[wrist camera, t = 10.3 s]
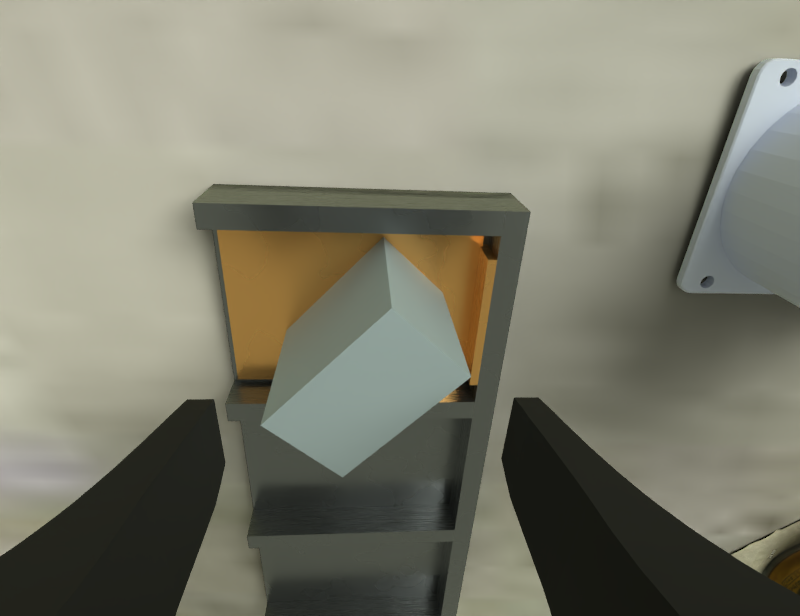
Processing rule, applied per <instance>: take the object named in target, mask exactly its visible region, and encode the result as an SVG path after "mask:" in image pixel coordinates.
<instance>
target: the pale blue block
mask: <svg viewBox="0 0 800 616" xmlns="http://www.w3.org/2000/svg"><path fill="white" fill-rule="evenodd" d="M469 378H471V375H470V372H469V369H468V366H467V363H466V360H465V357H464V354H463V351H462V348H461V345H460V342H459V339H458V336H457V333H456V330H455V327H454V324H453V321H452V318H451V316H450V313H449V310H448V307H447V304H446V301H445V298H444V295H443V292H442V291H440V290H439V289H438V288H437V287H436V286H435V285H434V284H433V283H432V282H431V281H430V280H429V279H428V278H427V277H426V276H425V275H424V274H422V273H421V272H420V271H419V270H418V269H417V268H416V267H415V266H414V265H413V264H412V263H411V262H410V261H409V260H408V259H407V258H405V257H404V256H403V255H402V254H401V253H400V252H399V251H398V250H397V249H396V248H395V247H394V246H393V245H392V244H391V243H390V242H388V241H387V240H386V239H385V238H384V237H383V238H382V239H381V240H380V241H379V242H378V243H377V244H376V245H375V246H374V247H373V248H371V249H370V250H369V251H368V252H367V253H366V254H365V255H364V256H363V257H362V258H361V259H360V260H359V261H358V262H357V263H356V264H355V265H354V266H353V267H352V268H351V269H350V270H349V271H348V272H347V273H345V274H344V275H343V276H342V277H341V278H340V279H339V280H338V281H337V282H336V283H335V284H334V285H333V286H332V287H331V288H330V289H329V290H328V291H327V292H326V293H325V294H324V295H323V296H322V297H321V298H319V299H318V300H317V301H316V302H315V303H314V304H313V305H312V306H311V307H310V308H309V309H308V310H307V311H306V312H305V313H304V314H303V315H302V316H301V317H300V318H299V319H298V320H297V321H296V322H295V323H293V324H292V325H291V326H290V327H289V328H288V329H287V331H286V334H285V338H284V342H283V345H282V349H281V352H280V356H279V360H278V363H277V367H276V371H275V374H274V378H273V382H272V385H271V389H270V392H269V396H268V400H267V403H266V407H265V411H264V414H263V418H262V422H261V426H262V427H264V428H265V429H267V430H268V431H270V432H272V433H273V434H275V435H276V436H278V437H279V438H281V439H283V440H284V441H286V442H287V443H289V444H291V445H292V446H294V447H295V448H297V449H298V450H300V451H302V452H303V453H305V454H306V455H308V456H310V457H311V458H313V459H314V460H316V461H317V462H319V463H321V464H322V465H324V466H325V467H327V468H329V469H330V470H332V471H333V472H335V473H336V474H338V475H340V476H341V477H344V476H345V475H346V474H348V473H349V472H350V471H351V470H353V469H354V468H355V467H357V466H358V465H359V464H360V463H362V462H363V461H364V460H366V459H367V458H368V457H369V456H371V455H372V454H373V453H374V452H376V451H377V450H378V449H380V448H381V447H382V446H383V445H385V444H386V443H387V442H389V441H390V440H391V439H392V438H394V437H395V436H396V435H398V434H399V433H400V432H401V431H403V430H404V429H405V428H406V427H408V426H409V425H410V424H412V423H413V422H414V421H415V420H417V419H418V418H419V417H421V416H422V415H423V414H424V413H426V412H427V411H428V410H430V409H431V408H432V407H433V406H435V405H436V404H437V403H438V402H440V401H441V400H442V399H444V398H445V397H446V396H447V395H449V394H450V393H451V392H453V391H454V390H455V389H456V388H458V387H459V386H460V385H462V384H463V383H464V382H465V381H467V380H468V379H469Z"/></svg>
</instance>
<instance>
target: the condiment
mask: <svg viewBox="0 0 800 616" xmlns="http://www.w3.org/2000/svg"><path fill="white" fill-rule="evenodd" d="M773 550H776V551H775V553H774V554H771V553H772V551H773ZM731 555H732V556H733V557H735V558H737V559H738V560H740V561H741V562H743V563H744V564H746V565H748V566H749V567H751V568H753V569H754V570H756V571H758V572H759V573H761V574H763V575H764V576H766V577H768V578H770V579H771V580H773V581H775V582H777V583H778V584H780V585H782V586H784V587H785V588H787V589H789V590H791V591H792V592H794V593H796V594H798V595H800V521H798V522H796V523H794V524H792V525H790V526H788V527H786V528H784V529H781V530H779V529H778V530H776V531H775V532H774V533H773V534H771V535H770V536H768V537H766V538H764V539H762V540H760V541H757V542H754V543H752V544H749V545H748V546H747V547H746V548H744V549H742V550H740V551H738V552H736V553H733V554H731ZM770 555H773V557H772V558H769V557H770Z"/></svg>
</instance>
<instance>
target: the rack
mask: <svg viewBox="0 0 800 616" xmlns="http://www.w3.org/2000/svg"><path fill="white" fill-rule="evenodd" d="M193 209H194V215H195V222H196V228H197V229H199V230H213V237H214V244H215V250H216V257H217V264H218V271H219V278H220V284H221V291H222V298H223V305H224V312H225V318H226V325H227V332H228V339H229V345H230V352H231V359H232V366H233V373H234V379H235V381H234V383H233V386H232V389H231V391H230V394H229V396H228V399H227V401H226V404H225V405H226V411H227V417H228V421H241V427H242V434H243V440H244V447H245V454H246V461H247V468H248V474H249V481H250V488H251V495H252V502H253V508H254V510H253V514H252V518H251V522H250V527H249V531H248V535H247V539H248V545H249V548H259V549H260V556H261V563H262V569H263V576H264V583H265V590H266V596H267V607H266V613H265V616H456V613H457V608H458V603H459V597H460V592H461V586H462V581H463V575H464V570H465V565H466V559H467V554H468V548H469V543H470V537H471V532H472V527H473V521H474V516H475V510H476V505H477V499H478V494H479V489H480V483H481V478H482V472H483V467H484V462H485V456H486V451H487V445H488V440H489V434H490V429H491V424H492V418H493V413H494V407H495V402H496V396H497V391H498V386H499V380H500V375H501V369H502V364H503V358H504V353H505V348H506V342H507V337H508V331H509V326H510V320H511V315H512V310H513V304H514V299H515V293H516V288H517V282H518V277H519V272H520V266H521V261H522V255H523V250H524V245H525V239H526V234H527V228H528V223H529V217H530V211H529V210H528V209H527V208H526V207H525V206H524V205H523V204H521V203H520V202H519V201H518V200H517V199H516V198H515V197H514V196H513V195H512V194H511V193H486V192H453V191H420V190H387V189H354V188H322V187H289V186H256V185H223V184H213V185H212V186H211V187H210V188H209V189H208V190H207V191H205V192H204V193H203V194H202V195H201V196H200V197H198V198H197V199H196V200H195V201H194V202H193ZM383 237H384V238H385V239H386V240H387V241H388V242H390V243H391V244H392V245H393V246H394V247H395V248H396V249H397V250H398V251H399V252H400V253H401V254H402V255H403V256H404V257H405V258H407V259H408V260H409V261H410V262H411V263H412V264H413V265H414V266H415V267H416V268H417V269H418V270H419V271H420V272H421V273H422V274H424V275H425V276H426V277H427V278H428V279H429V280H430V281H431V282H432V283H433V284H434V285H435V286H436V287H437V288H438V289H439V290H440V291H442V292H443V295H444V298H445V301H446V304H447V307H448V310H449V313H450V316H451V318H452V321H453V324H454V327H455V330H456V333H457V336H458V339H459V342H460V345H461V348H462V351H463V354H464V357H465V360H466V363H467V366H468V369H469V372H470V375H471V378H469V379H468V380H467V381H465V382H464V383H463V384H462V385H460V386H459V387H458V388H456V389H455V390H454V391H453V392H451V393H450V394H449V395H447V396H446V397H445V398H444V399H442V400H441V401H440V402H438V403H437V404H436V405H435V406H433V407H432V408H431V409H430V410H428V411H427V412H426V413H424V414H423V415H422V416H421V417H419V418H418V419H417V420H415V421H414V422H413V423H412V424H410V425H409V426H408V427H406V428H405V429H404V430H403V431H401V432H400V433H399V434H398V435H396V436H395V437H394V438H392V439H391V440H390V441H389V442H387V443H386V444H385V445H383V446H382V447H381V448H380V449H378V450H377V451H376V452H374V453H373V454H372V455H371V456H369V457H368V458H367V459H366V460H364V461H363V462H362V463H360V464H359V465H358V466H357V467H355V468H354V469H353V470H351V471H350V472H349V473H348V474H346V475H345V476H344V477H341V476H340V475H338V474H336V473H335V472H333V471H332V470H330V469H329V468H327V467H325V466H324V465H322V464H321V463H319V462H317V461H316V460H314V459H313V458H311V457H310V456H308V455H306V454H305V453H303V452H302V451H300V450H298V449H297V448H295V447H294V446H292V445H291V444H289V443H287V442H286V441H284V440H283V439H281V438H279V437H278V436H276V435H275V434H273V433H272V432H270V431H268V430H267V429H265V428H264V427H262V426H261V422H262V418H263V414H264V411H265V407H266V403H267V400H268V396H269V392H270V389H271V385H272V382H273V378H274V374H275V371H276V367H277V363H278V360H279V356H280V352H281V349H282V345H283V342H284V338H285V334H286V331H287V329H288V328H289V327H290V326H291V325H292V324H293V323H295V322H296V321H297V320H298V319H299V318H300V317H301V316H302V315H303V314H304V313H305V312H306V311H307V310H308V309H309V308H310V307H311V306H312V305H313V304H314V303H315V302H316V301H317V300H318V299H319V298H321V297H322V296H323V295H324V294H325V293H326V292H327V291H328V290H329V289H330V288H331V287H332V286H333V285H334V284H335V283H336V282H337V281H338V280H339V279H340V278H341V277H342V276H343V275H344V274H345V273H347V272H348V271H349V270H350V269H351V268H352V267H353V266H354V265H355V264H356V263H357V262H358V261H359V260H360V259H361V258H362V257H363V256H364V255H365V254H366V253H367V252H368V251H369V250H370V249H371V248H373V247H374V246H375V245H376V244H377V243H378V242H379V241H380V240H381V239H382V238H383Z"/></svg>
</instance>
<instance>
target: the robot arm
mask: <svg viewBox="0 0 800 616" xmlns="http://www.w3.org/2000/svg"><path fill="white" fill-rule="evenodd" d="M784 71H787V76H786V79H785V80H784V82H783V83H781V84H780V77H781V75H782V74H783V72H784ZM706 276H707V279H706V280H705V281H704V282H703V283H701V281H702V279H703V278H705V277H706ZM677 285H678V287H679V288H680V289H682V290H683V291H685V292H687V293H723V294H776V295H778V296H780V297H782V298H783V299H785V300H787V301H789V302H790V303H792V304H794V305H795V306H797V307H799V308H800V60H799V59H782V58H770V59H765V60H763V61H762V62H760V63H759V64H758V65H757V66H756V67H755V68H754V69H753V71H752V73H751V75H750V77H749V80H748V83H747V86H746V88H745V91H744V94H743V97H742V99H741V102H740V105H739V108H738V111H737V113H736V116H735V119H734V122H733V124H732V127H731V130H730V133H729V135H728V138H727V141H726V144H725V147H724V149H723V152H722V155H721V158H720V160H719V163H718V166H717V169H716V172H715V174H714V177H713V180H712V183H711V185H710V188H709V191H708V194H707V196H706V199H705V202H704V205H703V208H702V210H701V213H700V216H699V219H698V221H697V224H696V227H695V230H694V233H693V235H692V238H691V241H690V244H689V246H688V249H687V252H686V255H685V257H684V260H683V263H682V266H681V269H680V271H679V274H678V277H677ZM502 463H503V468H504V472H505V477H506V481H507V485H508V490H509V494H510V498H511V501H512V504H513V506H514V509H515V512H516V515H517V518H518V520H519V523H520V526H521V529H522V532H523V534H524V537H525V540H526V543H527V545H528V548H529V551H530V553H531V556H532V559H533V562H534V564H535V567H536V570H537V573H538V575H539V578H540V581H541V584H542V586H543V589H544V592H545V596H546V599H547V602H548V605H549V608H550V611H551V615H552V616H800V595H798V594H796V593H794V592H792V591H791V590H789V589H787V588H785V587H784V586H782V585H780V584H778V583H777V582H775V581H773V580H771V579H770V578H768V577H766V576H764V575H763V574H761V573H759V572H758V571H756V570H754V569H753V568H751V567H749V566H748V565H746V564H744V563H743V562H741V561H740V560H738V559H737V558H735V557H733V556H732V555H730V554H729V553H727V552H726V551H724V550H723V549H721V548H719V547H718V546H716V545H715V544H713V543H712V542H710V541H709V540H707V539H706V538H704V537H703V536H701V535H700V534H698V533H697V532H695V531H694V530H692V529H691V528H689V527H688V526H687V525H685V524H684V523H682V522H681V521H680V520H678V519H677V518H676V517H674V516H673V515H672V514H670V513H669V512H667V511H666V510H665V509H663V508H662V507H661V506H659V505H658V504H657V503H655V502H654V501H653V500H651V499H650V498H649V497H648V496H646V495H645V494H644V493H642V492H641V491H640V490H639V489H638V488H636V487H635V486H634V485H633V484H632V483H630V482H629V481H628V480H627V479H626V478H624V477H623V476H622V475H621V474H620V473H618V472H617V471H616V470H615V469H614V468H613V467H612V466H610V465H609V464H608V463H607V462H606V461H605V460H604V459H602V458H601V457H600V456H599V455H598V454H597V453H596V452H595V451H594V450H593V449H592V448H590V447H589V446H588V445H587V444H586V443H585V442H584V441H583V440H582V439H581V438H580V437H579V436H578V435H577V434H576V433H575V432H574V431H572V430H571V429H570V428H569V427H568V426H567V425H566V424H565V423H564V422H563V421H562V420H561V419H560V418H559V417H558V416H557V415H556V414H555V413H554V412H553V411H552V410H551V409H550V408H549V407H548V406H547V405H546V404H545V403H543V402H542V401H541V400H540V399H539V398H514V400H513V405H512V410H511V415H510V420H509V425H508V429H507V434H506V439H505V444H504V449H503V453H502ZM224 467H225V458H224V453H223V447H222V441H221V436H220V430H219V424H218V419H217V413H216V408H215V402H214V399H205V400H186V401H185V402H184V403H183V404H182V405H181V406H180V407H179V408H178V409H177V410H176V411H174V412H173V413H172V414H171V415H170V416H169V417H168V418H167V419H166V420H165V421H164V422H163V423H162V424H161V425H160V426H159V427H158V428H157V429H156V430H155V431H154V432H153V433H152V434H150V435H149V436H148V437H147V438H146V439H145V440H144V441H143V442H142V443H141V444H140V445H139V446H138V447H137V448H136V449H134V450H133V451H132V452H131V453H130V454H129V455H128V456H127V457H126V458H125V459H124V460H123V461H121V462H120V463H119V464H118V465H117V466H116V467H115V468H114V469H113V470H111V471H110V472H109V473H108V474H107V475H106V476H105V477H103V478H102V479H101V480H100V481H99V482H97V483H96V484H95V485H94V486H93V487H92V488H90V489H89V490H88V491H87V492H86V493H85V494H83V495H82V496H81V497H80V498H79V499H77V500H76V501H75V502H74V503H72V504H71V505H70V506H69V507H67V508H66V509H65V510H64V511H62V512H61V513H60V514H58V515H57V516H56V517H55V518H53V519H52V520H51V521H49V522H48V523H47V524H45V525H44V526H43V527H41V528H40V529H38V530H37V531H36V532H34V533H33V534H32V535H30V536H29V537H28V538H26V539H25V540H24V541H22V542H21V543H19V544H18V545H16V546H15V547H14V548H12V549H11V550H9V551H8V552H6V553H5V554H3V555H2V556H0V616H175V615H176V612H177V609H178V606H179V603H180V600H181V598H182V595H183V592H184V590H185V587H186V584H187V581H188V579H189V576H190V573H191V571H192V568H193V565H194V563H195V560H196V557H197V554H198V552H199V549H200V546H201V544H202V541H203V538H204V535H205V533H206V530H207V527H208V524H209V522H210V519H211V516H212V513H213V511H214V508H215V505H216V501H217V497H218V493H219V489H220V485H221V480H222V476H223V471H224Z"/></svg>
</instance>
